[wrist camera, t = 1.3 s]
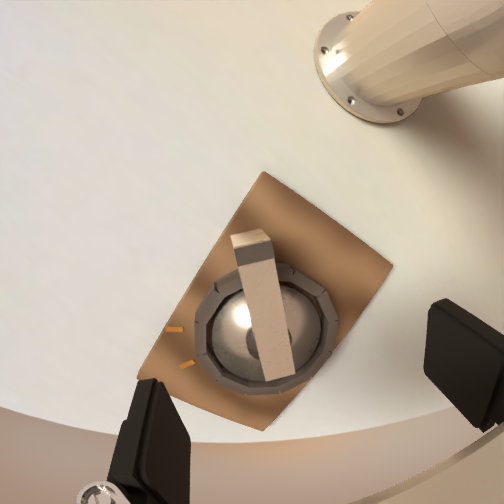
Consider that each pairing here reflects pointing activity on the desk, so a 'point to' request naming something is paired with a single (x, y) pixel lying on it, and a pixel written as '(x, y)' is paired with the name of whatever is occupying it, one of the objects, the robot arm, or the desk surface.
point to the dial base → (288, 245)
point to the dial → (263, 317)
